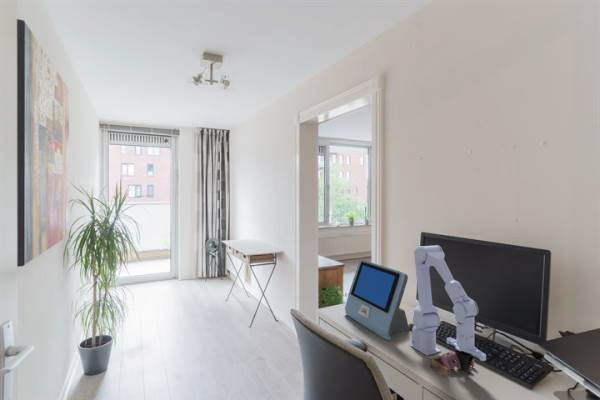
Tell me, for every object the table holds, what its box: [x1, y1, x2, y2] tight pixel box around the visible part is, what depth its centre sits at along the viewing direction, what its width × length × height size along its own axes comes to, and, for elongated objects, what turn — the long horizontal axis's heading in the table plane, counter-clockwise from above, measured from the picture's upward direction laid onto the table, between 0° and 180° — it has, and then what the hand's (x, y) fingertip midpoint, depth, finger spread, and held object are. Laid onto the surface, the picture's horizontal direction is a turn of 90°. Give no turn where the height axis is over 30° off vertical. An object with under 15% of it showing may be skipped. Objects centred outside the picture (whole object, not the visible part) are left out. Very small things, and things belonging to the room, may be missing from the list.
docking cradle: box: [429, 355, 475, 378], centre depth 119 cm, size 7×15×3 cm, turn 115°
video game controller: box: [440, 351, 473, 375], centre depth 118 cm, size 10×5×7 cm, turn 97°
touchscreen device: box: [344, 259, 410, 341], centre depth 160 cm, size 35×20×30 cm, turn 24°
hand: (465, 371), depth 114 cm, fingers closed
